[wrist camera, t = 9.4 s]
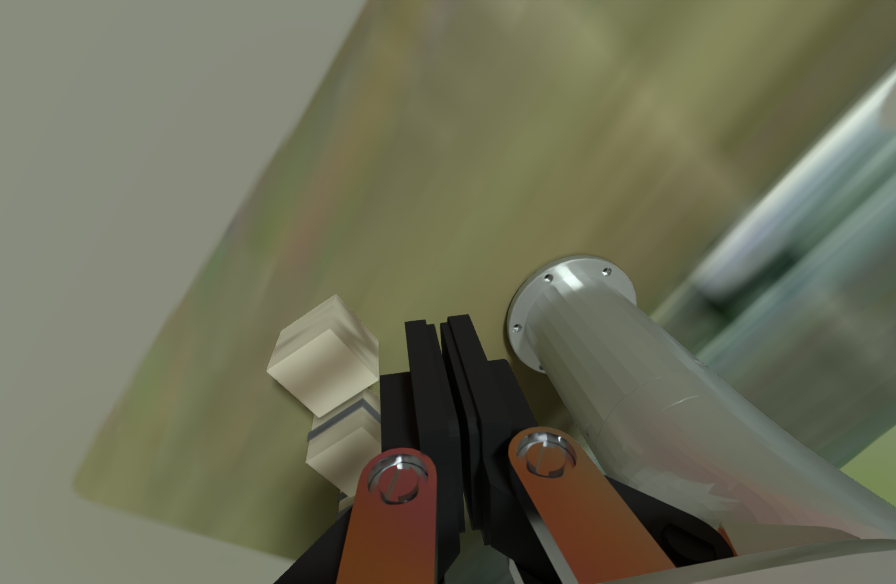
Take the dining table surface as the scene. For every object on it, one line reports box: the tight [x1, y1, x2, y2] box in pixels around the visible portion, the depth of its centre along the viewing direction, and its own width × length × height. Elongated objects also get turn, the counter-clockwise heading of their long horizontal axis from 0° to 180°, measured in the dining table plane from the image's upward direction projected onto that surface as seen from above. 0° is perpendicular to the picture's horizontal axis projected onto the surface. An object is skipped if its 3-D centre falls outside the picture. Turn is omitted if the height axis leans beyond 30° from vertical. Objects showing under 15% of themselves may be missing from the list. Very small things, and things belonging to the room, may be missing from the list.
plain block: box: [266, 294, 379, 418], centre depth 36 cm, size 6×6×6 cm
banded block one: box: [306, 387, 381, 498], centre depth 41 cm, size 6×6×6 cm
